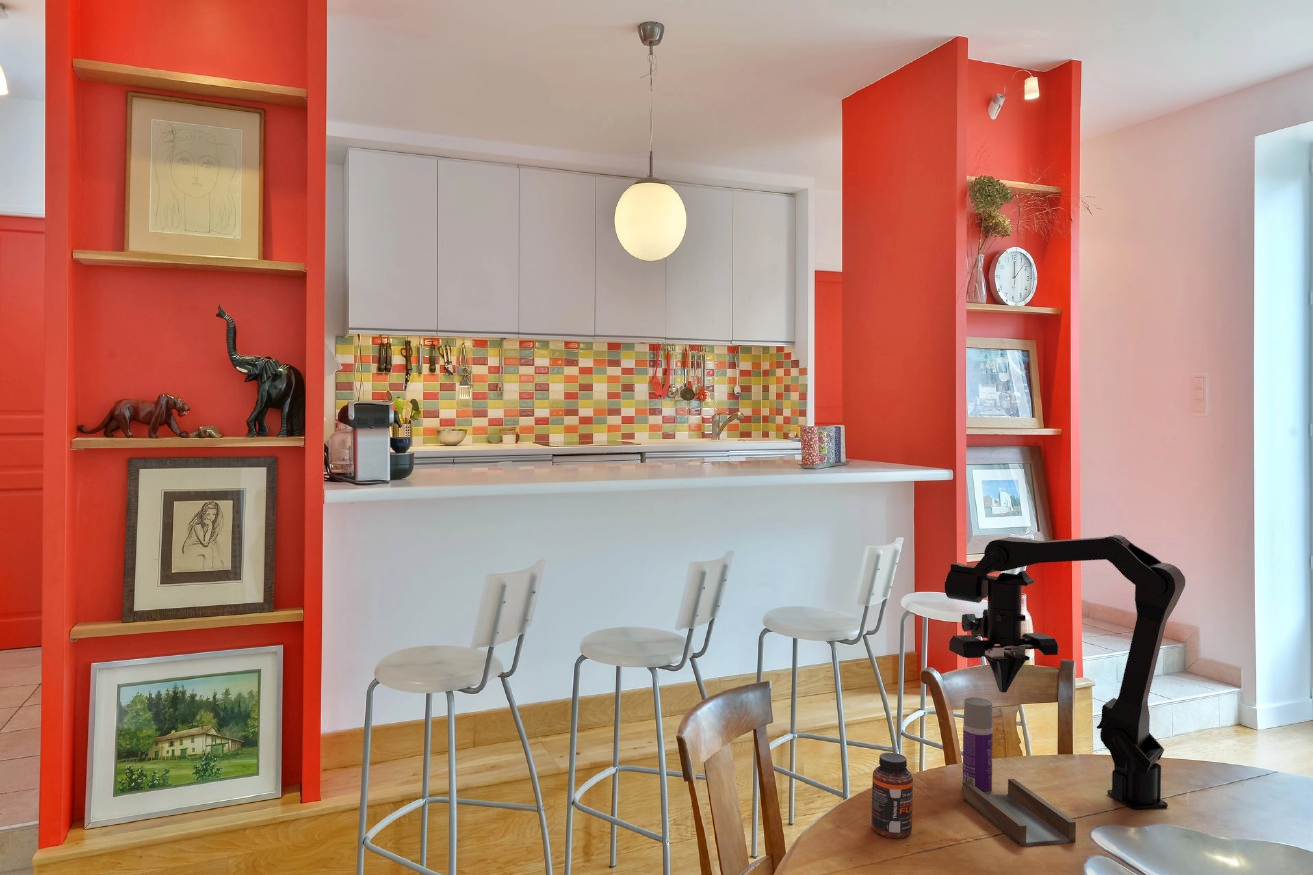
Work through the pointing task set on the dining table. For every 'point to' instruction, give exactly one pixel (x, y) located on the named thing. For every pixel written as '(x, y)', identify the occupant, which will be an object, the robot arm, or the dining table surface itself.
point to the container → (978, 743)
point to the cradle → (1022, 815)
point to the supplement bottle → (892, 797)
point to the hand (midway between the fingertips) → (1002, 691)
